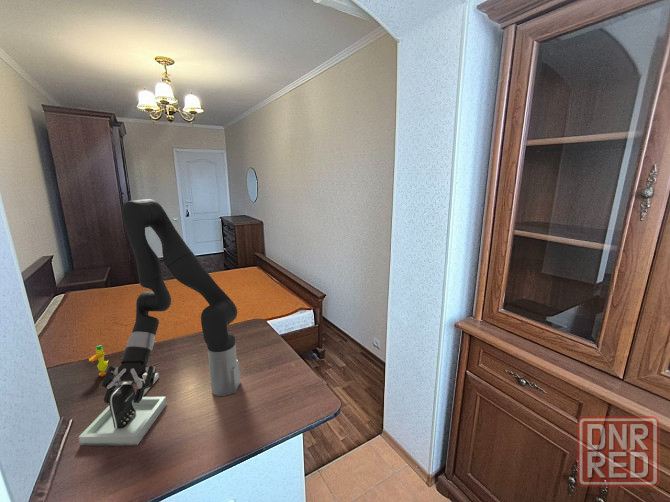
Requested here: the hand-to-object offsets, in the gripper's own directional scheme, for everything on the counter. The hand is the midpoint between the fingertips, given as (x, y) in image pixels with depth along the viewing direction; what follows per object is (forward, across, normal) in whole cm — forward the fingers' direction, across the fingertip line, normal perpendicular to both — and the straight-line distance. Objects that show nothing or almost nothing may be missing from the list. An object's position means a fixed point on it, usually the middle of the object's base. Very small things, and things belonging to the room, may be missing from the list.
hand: (121, 403), depth 91 cm
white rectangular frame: (-6, -7, +18) cm, 20 cm away
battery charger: (+5, 0, +6) cm, 7 cm away
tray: (+5, 0, +6) cm, 8 cm away
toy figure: (-12, -25, +23) cm, 36 cm away
